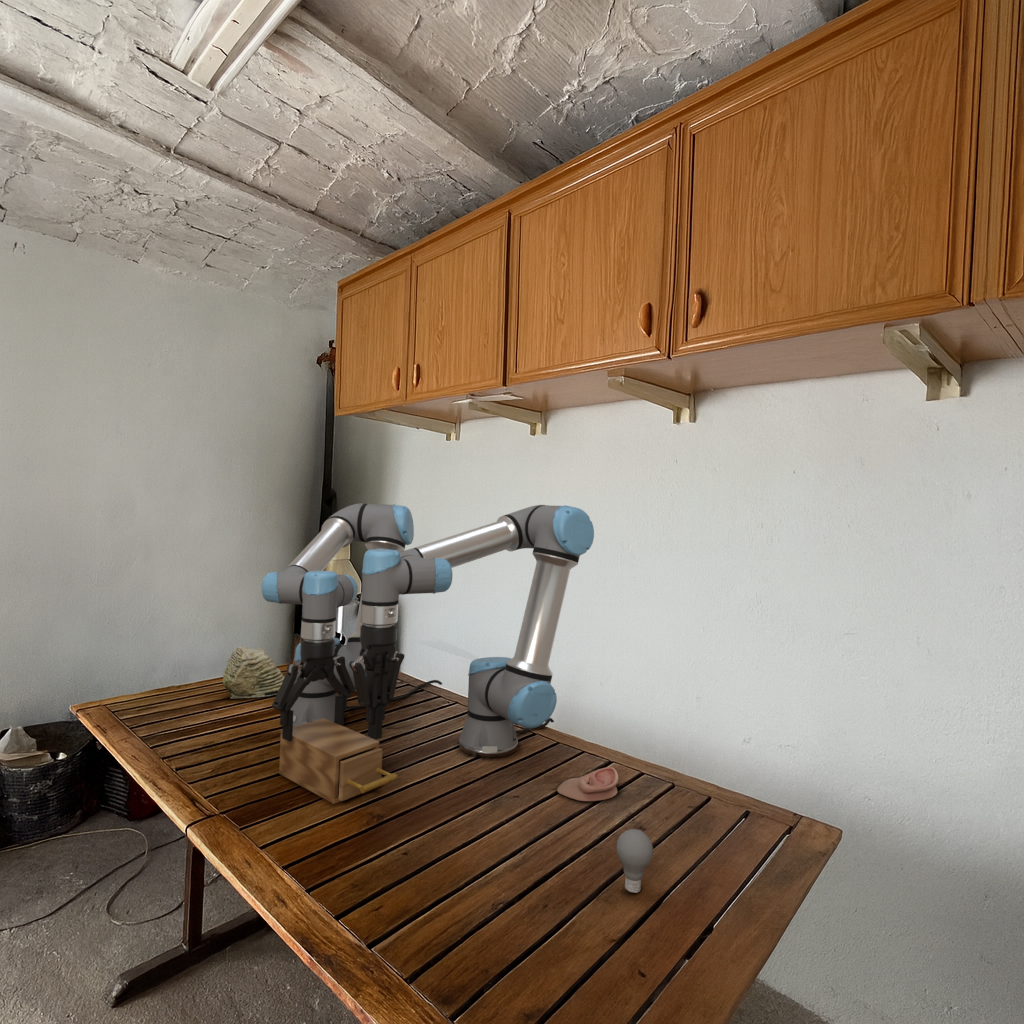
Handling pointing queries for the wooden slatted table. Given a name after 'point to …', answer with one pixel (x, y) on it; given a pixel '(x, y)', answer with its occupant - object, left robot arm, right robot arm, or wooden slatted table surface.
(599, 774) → the anatomical model
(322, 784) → the cabinet
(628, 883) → the light bulb
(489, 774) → the wooden slatted table surface
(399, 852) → the wooden slatted table surface
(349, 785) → the drawer
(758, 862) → the wooden slatted table surface
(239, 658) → the fossil
